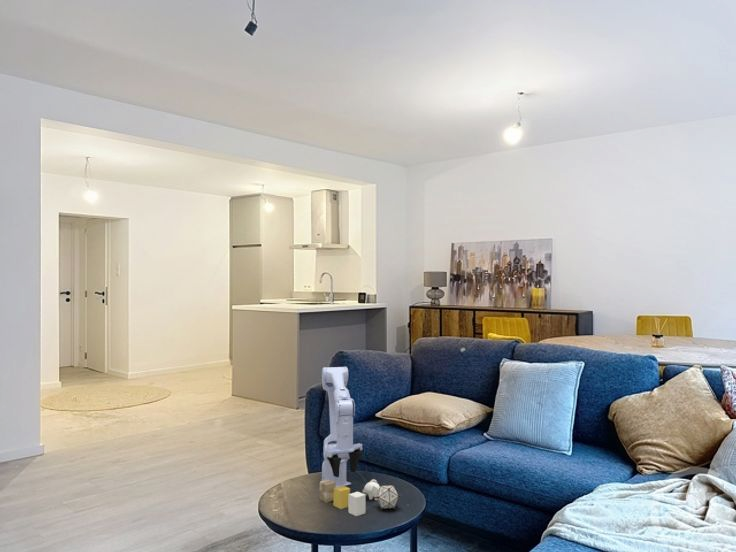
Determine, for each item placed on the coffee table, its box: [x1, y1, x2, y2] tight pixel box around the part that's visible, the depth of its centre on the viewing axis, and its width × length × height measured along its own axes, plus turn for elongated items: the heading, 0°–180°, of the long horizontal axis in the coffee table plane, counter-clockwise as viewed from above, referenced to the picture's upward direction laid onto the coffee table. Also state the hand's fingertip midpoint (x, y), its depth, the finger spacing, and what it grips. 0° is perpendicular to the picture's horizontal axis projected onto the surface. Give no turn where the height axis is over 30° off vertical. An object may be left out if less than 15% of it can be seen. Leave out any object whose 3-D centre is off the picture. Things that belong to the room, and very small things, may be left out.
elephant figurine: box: [361, 479, 380, 501], centre depth 199 cm, size 7×8×6 cm
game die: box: [373, 482, 402, 511], centre depth 190 cm, size 9×8×10 cm
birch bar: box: [319, 480, 336, 503], centre depth 198 cm, size 4×4×6 cm
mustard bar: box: [333, 485, 351, 510], centre depth 192 cm, size 4×4×6 cm
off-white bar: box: [347, 491, 366, 517], centre depth 186 cm, size 4×4×6 cm
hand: (344, 474), depth 196 cm, fingers open, 7 cm apart
